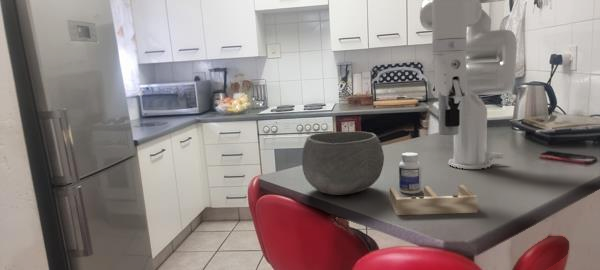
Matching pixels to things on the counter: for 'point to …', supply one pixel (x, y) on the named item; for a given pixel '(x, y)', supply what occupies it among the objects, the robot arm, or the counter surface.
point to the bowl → (342, 161)
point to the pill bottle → (410, 174)
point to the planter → (442, 128)
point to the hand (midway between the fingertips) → (448, 124)
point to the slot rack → (435, 202)
